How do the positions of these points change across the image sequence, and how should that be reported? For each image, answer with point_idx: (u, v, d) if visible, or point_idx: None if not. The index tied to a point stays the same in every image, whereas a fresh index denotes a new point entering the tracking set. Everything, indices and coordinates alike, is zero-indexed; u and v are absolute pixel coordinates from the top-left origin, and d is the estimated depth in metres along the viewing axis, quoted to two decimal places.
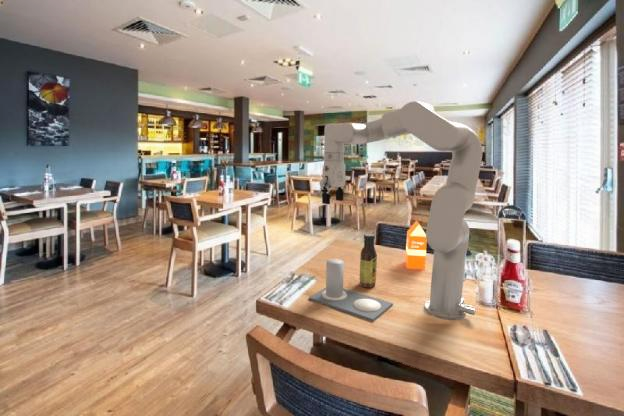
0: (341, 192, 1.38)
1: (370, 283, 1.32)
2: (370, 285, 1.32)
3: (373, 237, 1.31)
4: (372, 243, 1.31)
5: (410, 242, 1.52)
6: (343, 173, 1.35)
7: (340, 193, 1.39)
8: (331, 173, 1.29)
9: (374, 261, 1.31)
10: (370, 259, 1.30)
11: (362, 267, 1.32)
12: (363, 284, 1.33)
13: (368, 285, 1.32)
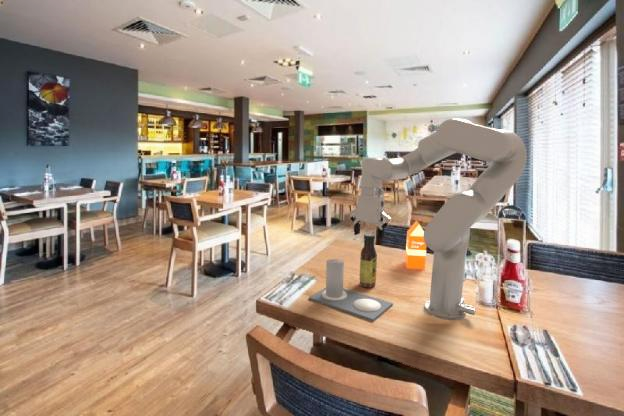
0: (359, 225, 1.35)
1: (370, 283, 1.32)
2: (370, 285, 1.32)
3: (373, 237, 1.31)
4: (372, 243, 1.31)
5: (410, 242, 1.52)
6: None
7: (359, 226, 1.35)
8: (384, 207, 1.29)
9: (374, 261, 1.31)
10: (370, 259, 1.30)
11: (362, 267, 1.32)
12: (363, 284, 1.33)
13: (368, 285, 1.32)
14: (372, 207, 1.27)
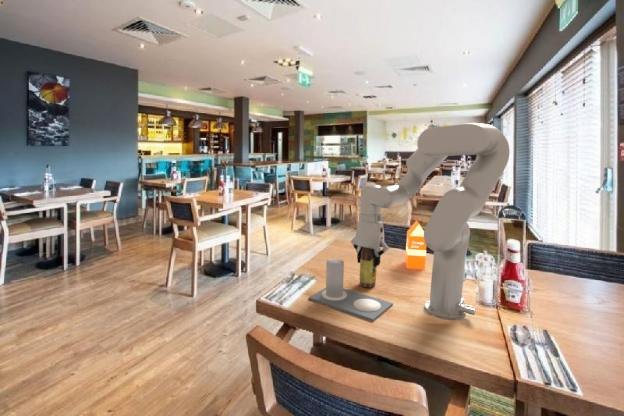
0: None
1: (370, 283, 1.32)
2: (370, 285, 1.32)
3: None
4: None
5: (410, 242, 1.52)
6: None
7: None
8: (383, 233, 1.30)
9: None
10: (370, 259, 1.30)
11: (362, 267, 1.32)
12: (363, 284, 1.33)
13: (368, 285, 1.32)
14: (372, 233, 1.28)
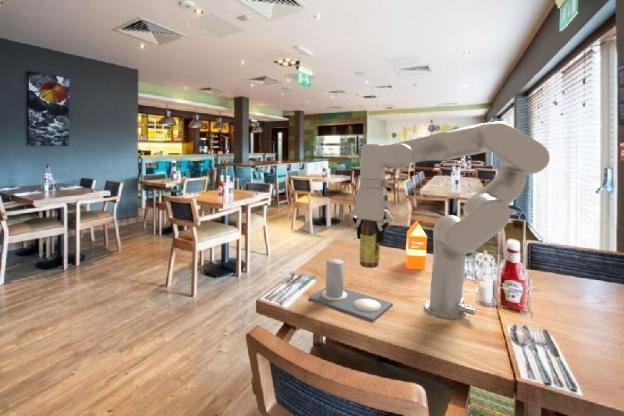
0: None
1: (373, 263, 1.11)
2: (372, 265, 1.11)
3: None
4: None
5: (410, 242, 1.52)
6: None
7: None
8: (388, 202, 1.09)
9: None
10: (372, 233, 1.09)
11: (363, 244, 1.11)
12: (364, 264, 1.11)
13: (370, 265, 1.11)
14: (374, 202, 1.07)
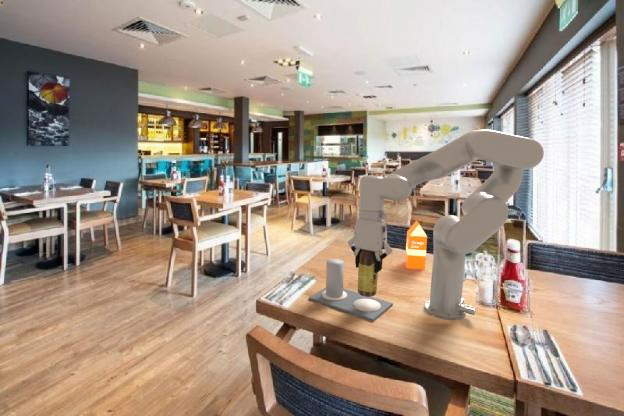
0: None
1: (370, 292, 1.12)
2: (370, 294, 1.13)
3: None
4: None
5: (410, 242, 1.52)
6: None
7: None
8: (386, 233, 1.11)
9: None
10: (370, 263, 1.11)
11: (361, 273, 1.12)
12: (362, 293, 1.13)
13: (368, 294, 1.12)
14: (372, 233, 1.09)
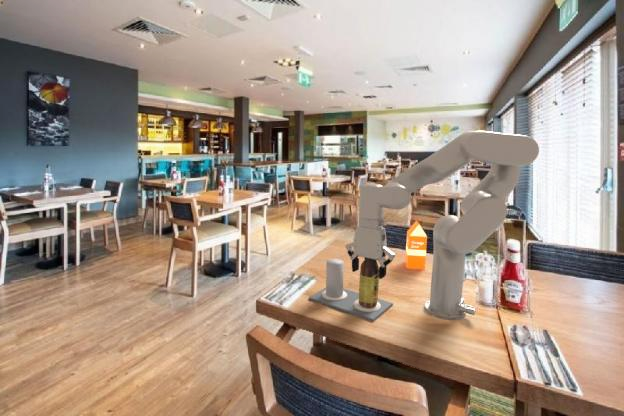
0: (358, 260, 1.17)
1: (371, 303, 1.13)
2: (371, 305, 1.13)
3: None
4: None
5: (410, 242, 1.52)
6: None
7: (357, 262, 1.17)
8: (386, 241, 1.11)
9: (376, 277, 1.12)
10: (371, 275, 1.12)
11: (362, 284, 1.13)
12: (363, 304, 1.14)
13: (368, 305, 1.13)
14: (372, 241, 1.09)
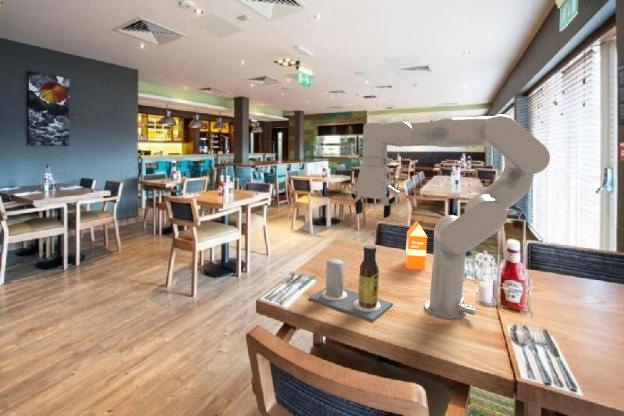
0: (361, 203, 1.18)
1: (371, 303, 1.13)
2: (371, 305, 1.13)
3: (374, 249, 1.12)
4: (373, 257, 1.12)
5: (410, 242, 1.52)
6: None
7: (361, 204, 1.17)
8: (390, 180, 1.12)
9: (375, 277, 1.12)
10: (370, 275, 1.12)
11: (362, 285, 1.13)
12: (363, 304, 1.14)
13: (368, 305, 1.13)
14: (377, 180, 1.10)
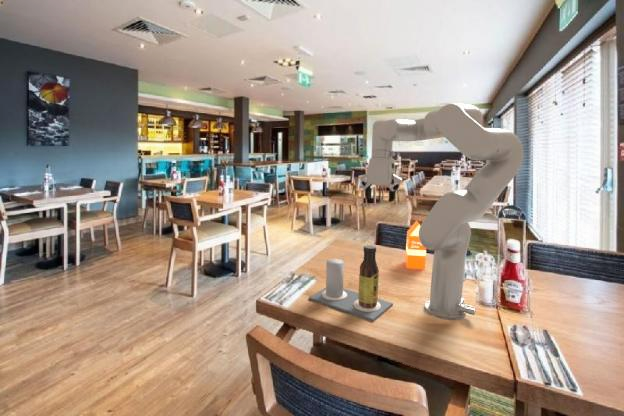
0: (370, 190, 1.38)
1: (371, 303, 1.13)
2: (371, 305, 1.13)
3: (374, 249, 1.12)
4: (373, 257, 1.12)
5: (410, 242, 1.52)
6: None
7: (370, 191, 1.37)
8: None
9: (375, 277, 1.12)
10: (370, 275, 1.12)
11: (362, 285, 1.13)
12: (363, 304, 1.14)
13: (368, 305, 1.13)
14: (383, 169, 1.29)
